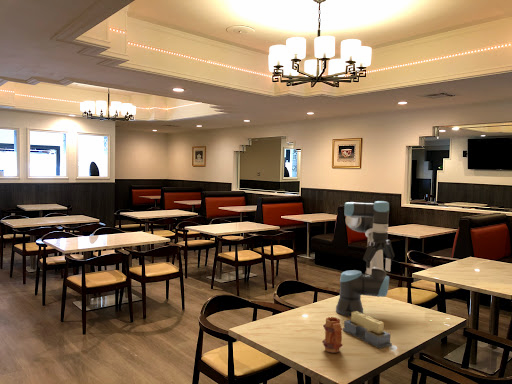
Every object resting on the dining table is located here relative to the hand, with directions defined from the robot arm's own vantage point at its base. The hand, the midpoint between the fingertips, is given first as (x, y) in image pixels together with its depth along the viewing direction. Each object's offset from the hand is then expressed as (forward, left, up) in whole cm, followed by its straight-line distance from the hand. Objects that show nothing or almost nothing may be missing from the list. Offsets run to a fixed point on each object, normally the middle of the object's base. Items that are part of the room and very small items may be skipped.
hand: (378, 272), depth 213 cm
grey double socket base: (+8, -15, -28) cm, 33 cm away
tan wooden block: (+8, -15, -27) cm, 32 cm away
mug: (+13, -41, -29) cm, 52 cm away
